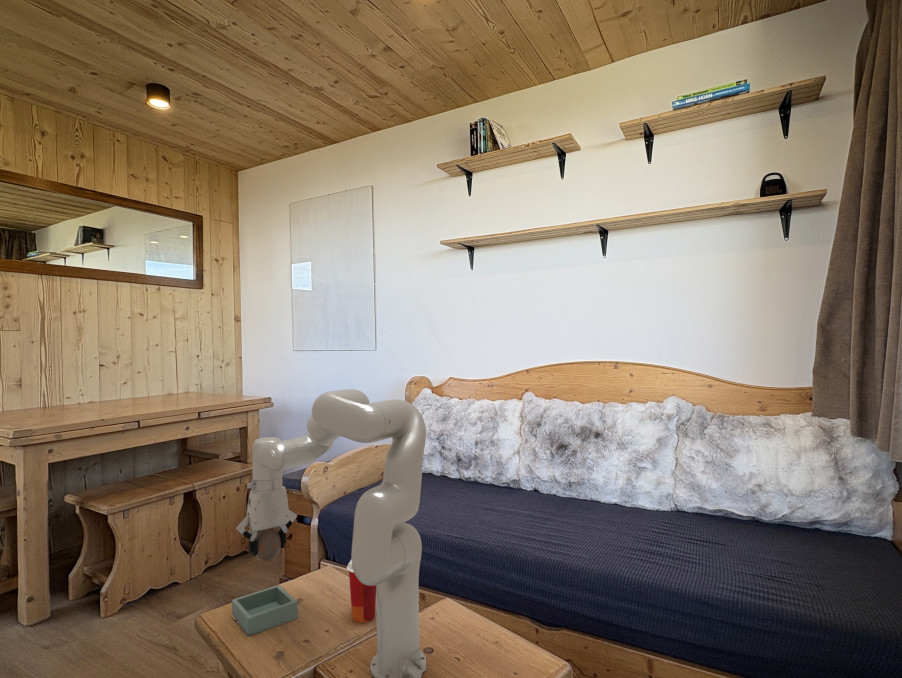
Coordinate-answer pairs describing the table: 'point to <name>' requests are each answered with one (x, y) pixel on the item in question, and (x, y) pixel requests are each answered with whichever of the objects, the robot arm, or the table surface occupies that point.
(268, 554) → the vase
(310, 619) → the table surface
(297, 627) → the table surface
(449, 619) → the table surface
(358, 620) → the coffee cup
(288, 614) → the bin
